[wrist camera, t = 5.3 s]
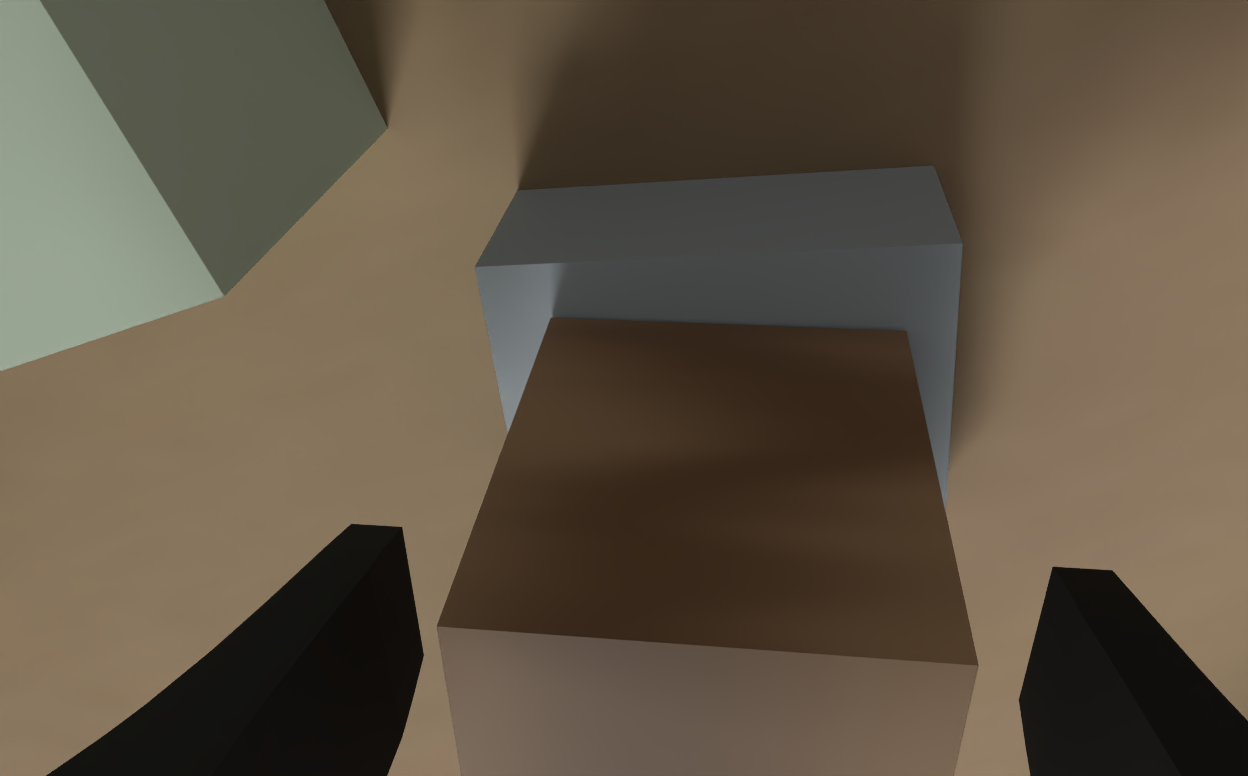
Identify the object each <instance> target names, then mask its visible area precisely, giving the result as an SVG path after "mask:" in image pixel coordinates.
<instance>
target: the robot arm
mask: <svg viewBox="0 0 1248 776" xmlns="http://www.w3.org/2000/svg"><path fill="white" fill-rule="evenodd" d="M423 656H424V654H423V648H422V642H421V636H420V630H419V624H418V618H417V612H416V607H415V601H414V595H413V589H412V583H411V577H410V571H409V565H408V560H407V554H406V548H405V542H404V536H403V530H402V527H392V526H376V525H359V524H351V525H350V526H348V527H347V528H346V529H345V530H344V531H343V532H342V533H341V534H340V535H338V536H337V537H336V538H335V539H334V540H333V541H332V542H331V543H329V544H328V545H327V546H326V547H325V548H324V549H323V550H322V551H321V552H320V553H318V554H317V555H316V556H315V557H314V558H313V559H312V560H311V561H310V562H309V563H308V564H307V565H305V566H304V567H303V568H302V569H301V570H300V571H299V572H298V573H297V574H296V575H295V576H294V577H293V578H292V579H290V580H289V581H288V582H287V583H286V584H285V585H284V586H283V587H282V588H281V589H280V590H279V591H277V592H276V593H275V594H274V595H273V596H272V597H271V598H270V599H269V600H268V601H267V602H265V603H264V604H263V605H262V606H261V607H260V608H259V609H258V610H257V611H255V612H254V613H253V614H252V615H251V616H250V617H249V618H248V619H246V620H245V621H244V622H243V623H242V624H241V625H240V626H239V627H237V628H236V629H235V630H234V631H233V632H232V633H231V634H230V635H228V636H227V637H226V638H225V639H224V640H223V641H222V642H221V643H219V644H218V645H217V646H216V647H215V648H214V649H213V650H211V651H210V652H209V653H208V654H207V655H206V656H204V657H203V658H202V659H201V660H199V661H198V662H197V663H196V664H195V665H193V666H192V667H191V668H190V669H188V670H187V671H186V672H185V673H184V674H182V675H181V676H180V677H179V678H177V679H176V680H175V681H174V682H173V683H171V684H170V685H169V686H168V687H166V688H165V689H164V690H163V691H162V692H160V693H159V694H158V695H157V696H155V697H154V698H153V699H152V700H150V701H149V702H148V703H147V704H146V705H144V706H143V707H142V708H140V709H139V710H138V711H136V712H135V713H134V714H132V715H131V716H130V717H129V718H127V719H126V720H125V721H123V722H122V723H120V724H119V725H118V726H116V727H115V728H114V729H112V730H111V731H110V732H108V733H107V734H105V735H104V736H103V737H101V738H100V739H99V740H97V741H96V742H94V743H93V744H91V745H90V746H88V747H87V748H86V749H84V750H83V751H81V752H80V753H78V754H77V755H75V756H74V757H73V758H71V759H70V760H68V761H67V762H65V763H64V764H63V765H61V766H60V767H58V768H57V769H55V770H54V771H52V772H51V773H49V774H48V775H46V776H387V775H388V772H389V769H390V767H391V764H392V762H393V759H394V757H395V754H396V752H397V749H398V747H399V744H400V741H401V739H402V736H403V732H404V729H405V725H406V722H407V718H408V714H409V711H410V707H411V704H412V700H413V696H414V692H415V688H416V684H417V680H418V676H419V672H420V668H421V664H422V660H423ZM1019 704H1020V711H1021V718H1022V724H1023V731H1024V738H1025V745H1026V751H1027V757H1028V763H1029V769H1030V775H1031V776H1248V721H1247V720H1246V719H1245V718H1244V716H1243V715H1242V714H1241V713H1240V712H1239V711H1238V710H1237V709H1236V708H1235V707H1234V706H1233V705H1232V704H1231V703H1230V702H1229V701H1228V700H1227V698H1226V697H1225V696H1224V695H1223V694H1222V693H1221V692H1220V691H1219V690H1218V689H1217V688H1216V687H1215V686H1214V684H1213V683H1212V682H1211V681H1210V680H1209V679H1208V678H1207V677H1206V676H1205V675H1204V673H1203V672H1202V671H1201V670H1200V669H1199V668H1198V667H1197V666H1196V665H1195V663H1194V662H1193V661H1192V660H1191V659H1190V658H1189V657H1188V656H1187V654H1186V653H1185V652H1184V651H1183V650H1182V649H1181V648H1180V647H1179V645H1178V644H1177V643H1176V642H1175V641H1174V640H1173V639H1172V637H1171V636H1170V635H1169V634H1168V633H1167V632H1166V631H1165V630H1164V628H1163V627H1162V626H1161V625H1160V624H1159V623H1158V622H1157V620H1156V619H1155V618H1154V617H1153V616H1152V615H1151V614H1150V612H1149V611H1148V610H1147V609H1146V608H1145V607H1144V606H1143V604H1142V603H1141V602H1140V601H1139V600H1138V599H1137V598H1136V597H1135V595H1134V594H1133V593H1132V592H1131V591H1130V590H1129V589H1128V588H1127V586H1126V585H1125V584H1124V583H1123V582H1122V581H1121V580H1120V579H1119V577H1118V576H1117V575H1116V574H1115V573H1114V572H1113V571H1112V570H1097V569H1080V568H1064V567H1053V568H1052V572H1051V576H1050V580H1049V584H1048V587H1047V591H1046V595H1045V599H1044V603H1043V607H1042V611H1041V615H1040V619H1039V623H1038V627H1037V631H1036V635H1035V639H1034V643H1033V647H1032V650H1031V654H1030V658H1029V662H1028V666H1027V670H1026V674H1025V678H1024V682H1023V686H1022V690H1021V694H1020V698H1019Z"/></svg>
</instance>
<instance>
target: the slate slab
mask: <svg viewBox="0 0 1248 776" xmlns="http://www.w3.org/2000/svg"><path fill="white" fill-rule="evenodd" d="M962 247H963V243H962V240H961V237H960V235H959V232H958V229H957V227H956V224H955V221H954V219H953V216H952V213H951V211H950V208H949V205H948V202H947V200H946V197H945V194H944V192H943V189H942V186H941V184H940V181H939V178H938V175H937V173H936V170H935V167H934V165H932V166H915V167H898V168H882V169H865V170H848V171H831V172H815V173H798V174H781V175H765V176H748V177H731V178H715V179H698V180H681V181H665V182H648V183H631V184H615V185H598V186H581V187H565V188H548V189H531V190H517V192H516V194H515V196H514V198H513V199H512V201H511V203H510V205H509V207H508V208H507V210H506V212H505V214H504V215H503V217H502V219H501V221H500V223H499V224H498V226H497V228H496V230H495V232H494V233H493V235H492V237H491V239H490V241H489V242H488V244H487V246H486V248H485V250H484V251H483V253H482V255H481V257H480V259H479V260H478V262H477V264H476V266H475V271H476V276H477V281H478V286H479V291H480V296H481V301H482V306H483V311H484V316H485V321H486V326H487V331H488V336H489V341H490V346H491V352H492V357H493V362H494V367H495V372H496V377H497V382H498V387H499V392H500V397H501V402H502V407H503V412H504V417H505V422H506V427H507V432H509V429H510V426H511V424H512V421H513V418H514V416H515V413H516V410H517V407H518V405H519V402H520V399H521V397H522V394H523V391H524V388H525V386H526V383H527V380H528V378H529V375H530V372H531V369H532V367H533V364H534V361H535V359H536V356H537V353H538V351H539V348H540V345H541V342H542V340H543V337H544V334H545V332H546V329H547V326H548V323H549V321H550V318H573V319H600V320H626V321H653V322H679V323H706V324H732V325H759V326H785V327H812V328H838V329H864V330H891V331H907V335H908V340H909V344H910V349H911V354H912V358H913V363H914V368H915V372H916V377H917V382H918V386H919V391H920V396H921V400H922V405H923V410H924V414H925V419H926V423H927V428H928V433H929V437H930V442H931V447H932V451H933V456H934V461H935V465H936V470H937V475H938V479H939V484H940V489H941V493H942V498H943V503H944V507H945V511H946V495H947V480H948V464H949V449H950V433H951V418H952V402H953V387H954V371H955V356H956V340H957V325H958V309H959V294H960V278H961V263H962Z"/></svg>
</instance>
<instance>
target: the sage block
mask: <svg viewBox="0 0 1248 776" xmlns="http://www.w3.org/2000/svg"><path fill="white" fill-rule="evenodd" d="M387 129H388V128H387V126H386V124H385V122H384V120H383V118H382V116H381V114H380V112H379V110H378V108H377V106H376V104H375V102H374V100H373V98H372V96H371V94H370V92H369V90H368V88H367V86H366V84H365V82H364V79H363V77H362V75H361V73H360V71H359V69H358V67H357V65H356V63H355V61H354V59H353V57H352V55H351V53H350V51H349V49H348V47H347V45H346V43H345V41H344V39H343V37H342V35H341V33H340V31H339V29H338V27H337V25H336V23H335V21H334V19H333V17H332V15H331V13H330V11H329V9H328V7H327V5H326V3H325V1H324V0H0V371H2V370H5V369H8V368H11V367H14V366H17V365H20V364H23V363H26V362H29V361H32V360H35V359H38V358H41V357H44V356H47V355H50V354H53V353H56V352H59V351H62V350H65V349H68V348H71V347H74V346H77V345H80V344H83V343H86V342H89V341H92V340H95V339H98V338H101V337H104V336H107V335H110V334H113V333H116V332H119V331H122V330H125V329H128V328H131V327H134V326H137V325H140V324H143V323H146V322H149V321H152V320H155V319H158V318H161V317H164V316H167V315H170V314H173V313H176V312H179V311H182V310H185V309H188V308H191V307H194V306H197V305H200V304H203V303H206V302H209V301H212V300H215V299H218V298H221V297H224V296H225V295H226V294H227V293H228V292H229V291H230V290H231V289H232V288H233V287H234V286H235V285H236V284H237V283H238V282H239V281H240V280H241V279H242V278H243V277H244V275H245V274H246V273H247V272H248V271H249V270H250V269H251V268H252V267H253V266H254V265H255V264H256V263H257V262H258V261H259V260H260V259H261V258H262V257H263V256H264V255H265V254H266V253H267V252H268V251H269V250H270V249H271V248H272V247H273V246H274V245H275V244H276V243H277V242H278V241H279V240H280V239H281V237H282V236H283V235H284V234H285V233H286V232H287V231H288V230H289V229H290V228H291V227H292V226H293V225H294V224H295V223H296V222H297V221H298V220H299V219H300V218H301V217H302V216H303V215H304V214H305V213H306V212H307V211H308V210H309V209H310V208H311V207H312V206H313V205H314V204H315V203H316V202H317V201H318V199H319V198H320V197H321V196H322V195H323V194H324V193H325V192H326V191H327V190H328V189H329V188H330V187H331V186H332V185H333V184H334V183H335V182H336V181H337V180H338V179H339V178H340V177H341V176H342V175H343V174H344V173H345V172H346V171H347V170H348V169H349V168H350V167H351V166H352V165H353V164H354V163H355V161H356V160H357V159H358V158H359V157H360V156H361V155H362V154H363V153H364V152H365V151H366V150H367V149H368V148H369V147H370V146H371V145H372V144H373V143H374V142H375V141H376V140H377V139H378V138H379V137H380V136H381V135H382V134H383V133H384V132H385V131H386V130H387Z"/></svg>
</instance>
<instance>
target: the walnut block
mask: <svg viewBox="0 0 1248 776" xmlns="http://www.w3.org/2000/svg"><path fill="white" fill-rule="evenodd" d="M437 631H438V637H439V643H440V649H441V656H442V662H443V668H444V674H445V680H446V686H447V692H448V698H449V704H450V710H451V716H452V722H453V728H454V734H455V740H456V746H457V753H458V759H459V765H460V771H461V776H954V772H955V768H956V763H957V759H958V754H959V750H960V746H961V741H962V737H963V732H964V728H965V723H966V719H967V715H968V710H969V706H970V701H971V697H972V692H973V688H974V684H975V679H976V675H977V670H978V666H979V665H978V661H977V656H976V651H975V647H974V642H973V638H972V633H971V628H970V624H969V619H968V614H967V610H966V605H965V600H964V596H963V591H962V586H961V582H960V577H959V572H958V568H957V563H956V558H955V554H954V549H953V544H952V540H951V535H950V531H949V526H948V521H947V517H946V512H945V507H944V503H943V498H942V493H941V489H940V484H939V479H938V475H937V470H936V465H935V461H934V456H933V451H932V447H931V442H930V437H929V433H928V428H927V423H926V419H925V414H924V410H923V405H922V400H921V396H920V391H919V386H918V382H917V377H916V372H915V368H914V363H913V358H912V354H911V349H910V344H909V340H908V335H907V331H891V330H864V329H838V328H812V327H785V326H759V325H732V324H706V323H679V322H653V321H626V320H600V319H573V318H550V321H549V323H548V326H547V329H546V332H545V334H544V337H543V340H542V342H541V345H540V348H539V351H538V353H537V356H536V359H535V361H534V364H533V367H532V369H531V372H530V375H529V378H528V380H527V383H526V386H525V388H524V391H523V394H522V397H521V399H520V402H519V405H518V407H517V410H516V413H515V416H514V418H513V421H512V424H511V426H510V429H509V432H508V435H507V437H506V440H505V443H504V445H503V448H502V451H501V454H500V456H499V459H498V462H497V464H496V467H495V470H494V473H493V475H492V478H491V481H490V483H489V486H488V489H487V492H486V494H485V497H484V500H483V502H482V505H481V508H480V510H479V513H478V516H477V519H476V521H475V524H474V527H473V529H472V532H471V535H470V538H469V540H468V543H467V546H466V548H465V551H464V554H463V557H462V559H461V562H460V565H459V567H458V570H457V573H456V576H455V578H454V581H453V584H452V586H451V589H450V592H449V595H448V597H447V600H446V603H445V605H444V608H443V611H442V614H441V616H440V619H439V622H438V624H437Z"/></svg>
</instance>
